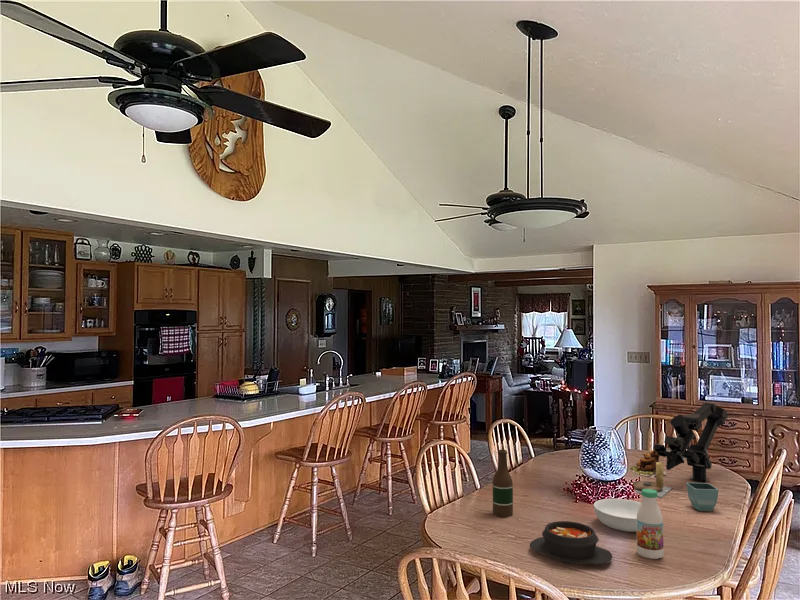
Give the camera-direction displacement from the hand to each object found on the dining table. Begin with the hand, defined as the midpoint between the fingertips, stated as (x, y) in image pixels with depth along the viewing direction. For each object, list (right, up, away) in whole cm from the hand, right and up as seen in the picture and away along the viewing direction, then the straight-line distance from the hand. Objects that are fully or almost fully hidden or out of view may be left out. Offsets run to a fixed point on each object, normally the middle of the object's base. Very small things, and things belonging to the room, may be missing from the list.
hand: (667, 469), depth 249 cm
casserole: (-62, -7, -68) cm, 92 cm away
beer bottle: (-76, -8, -31) cm, 83 cm away
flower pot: (+2, -8, -25) cm, 26 cm away
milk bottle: (-36, -7, -67) cm, 77 cm away
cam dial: (-9, -9, -1) cm, 12 cm away
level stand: (-9, -9, -1) cm, 12 cm away
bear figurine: (+3, -10, +26) cm, 28 cm away
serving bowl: (-35, -8, -44) cm, 57 cm away
